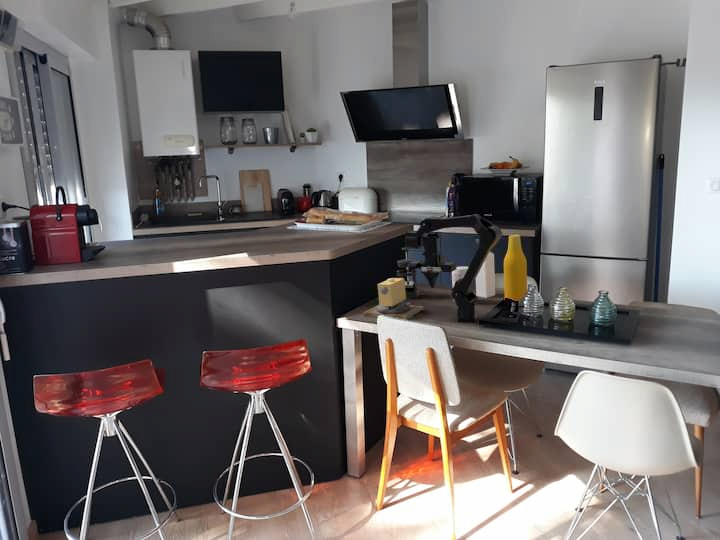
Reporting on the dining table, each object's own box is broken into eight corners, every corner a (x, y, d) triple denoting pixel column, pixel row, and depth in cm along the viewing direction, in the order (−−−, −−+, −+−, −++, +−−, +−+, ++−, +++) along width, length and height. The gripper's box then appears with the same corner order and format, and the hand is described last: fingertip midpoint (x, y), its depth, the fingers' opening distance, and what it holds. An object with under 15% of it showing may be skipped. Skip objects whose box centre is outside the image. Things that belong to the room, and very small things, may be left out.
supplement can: (472, 298, 252) (470, 265, 249) (472, 303, 244) (470, 269, 241) (453, 299, 253) (451, 266, 250) (453, 304, 245) (451, 270, 243)
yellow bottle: (516, 308, 232) (515, 238, 226) (500, 304, 239) (497, 236, 234) (532, 303, 236) (531, 234, 231) (515, 300, 244) (513, 233, 238)
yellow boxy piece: (406, 298, 242) (404, 275, 240) (391, 306, 231) (389, 282, 229) (394, 298, 245) (392, 275, 243) (378, 305, 235) (376, 282, 233)
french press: (424, 295, 263) (421, 246, 259) (410, 300, 257) (407, 250, 253) (405, 292, 272) (402, 245, 268) (391, 297, 266) (388, 248, 261)
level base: (423, 309, 240) (423, 300, 239) (405, 320, 227) (405, 310, 226) (382, 306, 251) (382, 297, 250) (363, 315, 238) (362, 306, 237)
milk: (486, 298, 251) (484, 249, 247) (476, 296, 256) (474, 247, 252) (495, 295, 255) (494, 246, 250) (485, 293, 260) (483, 245, 255)
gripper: (461, 246, 225) (462, 284, 228) (418, 245, 235) (420, 282, 238) (449, 251, 216) (451, 291, 219) (406, 249, 226) (408, 288, 229)
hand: (432, 287), depth 227 cm, fingers closed
